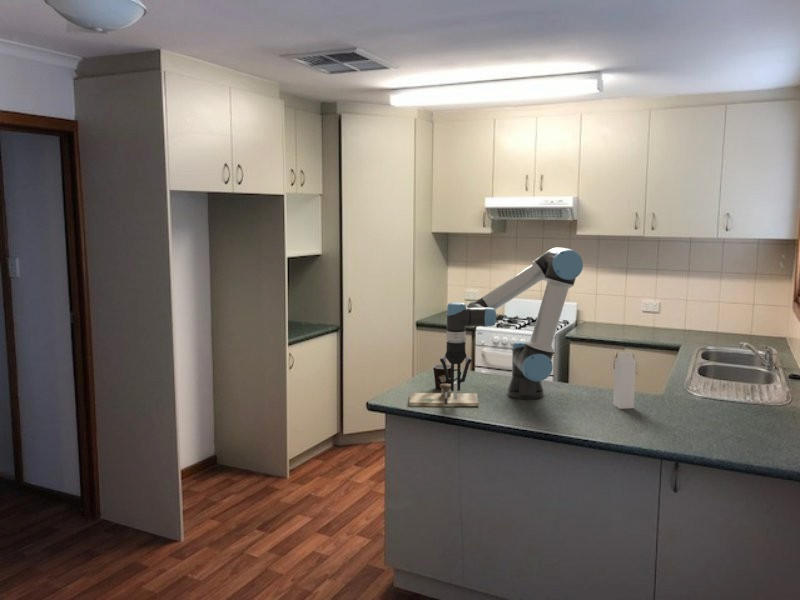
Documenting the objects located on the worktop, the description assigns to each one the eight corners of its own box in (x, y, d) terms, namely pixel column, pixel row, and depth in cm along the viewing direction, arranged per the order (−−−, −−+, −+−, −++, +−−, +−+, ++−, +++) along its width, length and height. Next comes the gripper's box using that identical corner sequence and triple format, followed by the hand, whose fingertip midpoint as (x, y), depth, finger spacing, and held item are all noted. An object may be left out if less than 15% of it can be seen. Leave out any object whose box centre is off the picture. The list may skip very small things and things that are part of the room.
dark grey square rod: (452, 393, 275) (452, 383, 274) (452, 405, 259) (452, 394, 258) (439, 393, 275) (439, 383, 275) (439, 404, 259) (439, 394, 258)
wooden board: (476, 396, 276) (476, 393, 276) (478, 406, 262) (478, 402, 262) (410, 396, 278) (410, 392, 278) (409, 405, 264) (409, 402, 264)
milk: (633, 408, 258) (636, 354, 255) (619, 409, 258) (621, 354, 255) (627, 403, 264) (629, 350, 261) (612, 404, 264) (615, 351, 261)
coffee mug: (430, 389, 288) (429, 367, 286) (438, 385, 295) (438, 363, 294) (454, 393, 282) (454, 370, 281) (461, 388, 290) (461, 366, 288)
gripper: (439, 342, 257) (439, 400, 260) (472, 343, 256) (471, 401, 259) (439, 339, 264) (439, 395, 267) (471, 339, 263) (471, 396, 267)
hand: (455, 398), depth 263 cm, fingers closed
